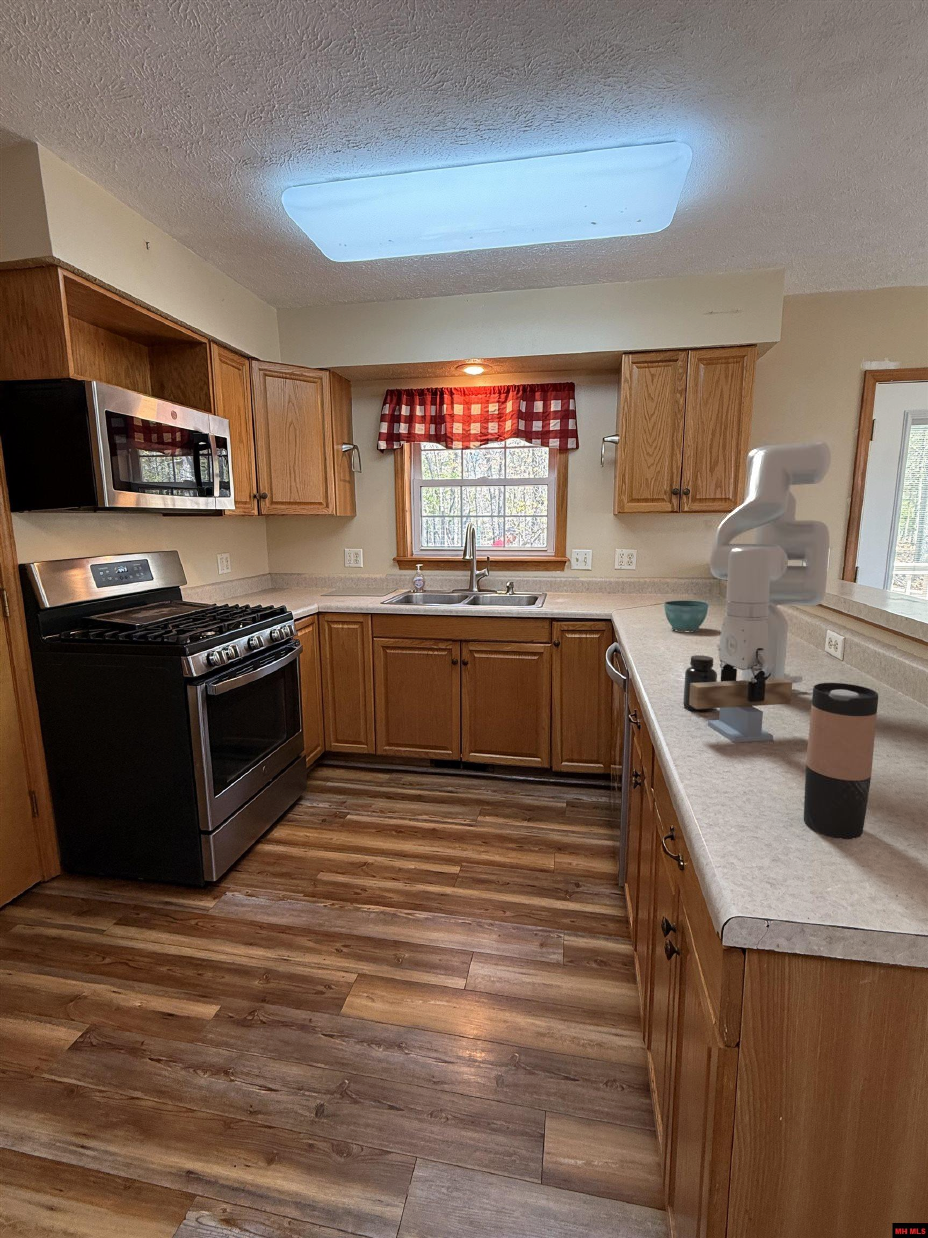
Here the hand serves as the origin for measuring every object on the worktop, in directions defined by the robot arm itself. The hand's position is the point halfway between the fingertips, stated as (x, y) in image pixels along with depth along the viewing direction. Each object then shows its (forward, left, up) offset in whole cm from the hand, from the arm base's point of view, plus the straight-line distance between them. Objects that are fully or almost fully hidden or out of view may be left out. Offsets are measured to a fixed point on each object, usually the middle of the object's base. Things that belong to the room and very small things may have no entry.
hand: (741, 694), depth 117 cm
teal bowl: (-42, -105, -8) cm, 113 cm away
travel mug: (+8, +36, -8) cm, 38 cm away
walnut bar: (0, 0, -2) cm, 2 cm away
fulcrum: (0, 0, -8) cm, 8 cm away
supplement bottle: (0, -16, -8) cm, 18 cm away
